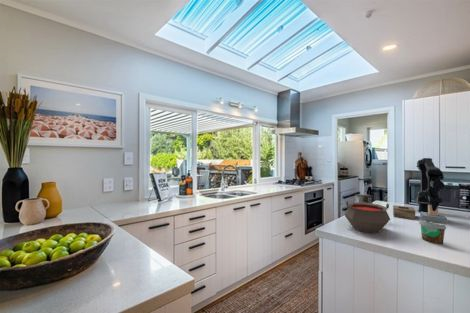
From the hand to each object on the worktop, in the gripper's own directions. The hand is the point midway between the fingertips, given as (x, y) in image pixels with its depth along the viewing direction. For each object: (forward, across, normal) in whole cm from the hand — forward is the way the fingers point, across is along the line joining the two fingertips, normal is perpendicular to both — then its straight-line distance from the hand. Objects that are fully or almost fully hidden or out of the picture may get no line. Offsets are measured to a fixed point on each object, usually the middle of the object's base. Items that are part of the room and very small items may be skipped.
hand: (433, 210), depth 153 cm
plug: (+4, 0, 0) cm, 4 cm away
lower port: (+7, 0, 0) cm, 7 cm away
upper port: (+7, 0, -16) cm, 17 cm away
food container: (+7, +49, -9) cm, 50 cm away
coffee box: (+7, +21, -40) cm, 46 cm away
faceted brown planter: (+7, +46, -37) cm, 59 cm away
